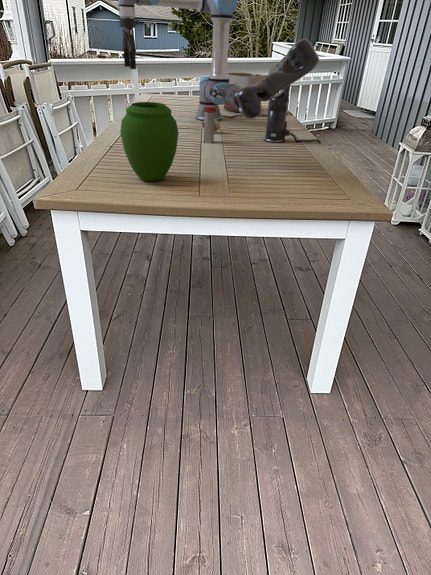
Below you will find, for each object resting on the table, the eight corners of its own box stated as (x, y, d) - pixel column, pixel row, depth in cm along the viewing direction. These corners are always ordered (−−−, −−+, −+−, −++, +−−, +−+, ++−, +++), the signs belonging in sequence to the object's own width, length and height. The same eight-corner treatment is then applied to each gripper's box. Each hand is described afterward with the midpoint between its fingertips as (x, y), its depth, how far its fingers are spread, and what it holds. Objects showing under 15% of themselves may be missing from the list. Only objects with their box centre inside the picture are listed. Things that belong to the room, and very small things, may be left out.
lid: (211, 112, 188) (211, 107, 187) (201, 111, 191) (201, 106, 190) (217, 111, 192) (218, 106, 191) (208, 109, 195) (208, 105, 194)
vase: (131, 189, 135) (125, 110, 122) (118, 172, 150) (112, 100, 137) (186, 184, 142) (187, 109, 129) (169, 168, 157) (167, 99, 144)
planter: (264, 113, 274) (268, 77, 262) (227, 113, 270) (229, 75, 258) (255, 107, 295) (258, 73, 283) (220, 106, 291) (222, 72, 279)
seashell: (219, 131, 220) (219, 115, 216) (220, 133, 215) (221, 117, 211) (201, 130, 219) (202, 114, 214) (202, 133, 214) (203, 116, 210)
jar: (210, 143, 196) (211, 108, 188) (201, 141, 198) (202, 107, 190) (215, 141, 200) (217, 107, 191) (207, 140, 202) (208, 106, 193)
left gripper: (114, 17, 205) (118, 65, 216) (124, 17, 186) (128, 69, 197) (129, 18, 208) (132, 65, 219) (141, 18, 188) (143, 70, 200)
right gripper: (216, 106, 156) (206, 100, 169) (251, 106, 159) (238, 100, 173) (217, 84, 152) (206, 80, 165) (253, 85, 155) (240, 80, 169)
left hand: (130, 67), depth 208 cm, fingers open, 13 cm apart
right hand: (223, 90), depth 169 cm, fingers open, 8 cm apart
